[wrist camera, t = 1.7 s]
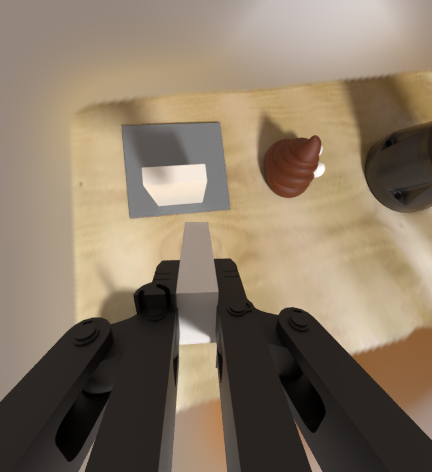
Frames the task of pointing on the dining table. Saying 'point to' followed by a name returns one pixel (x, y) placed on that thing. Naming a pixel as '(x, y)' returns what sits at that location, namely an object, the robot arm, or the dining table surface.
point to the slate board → (174, 164)
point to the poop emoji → (293, 165)
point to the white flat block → (175, 184)
